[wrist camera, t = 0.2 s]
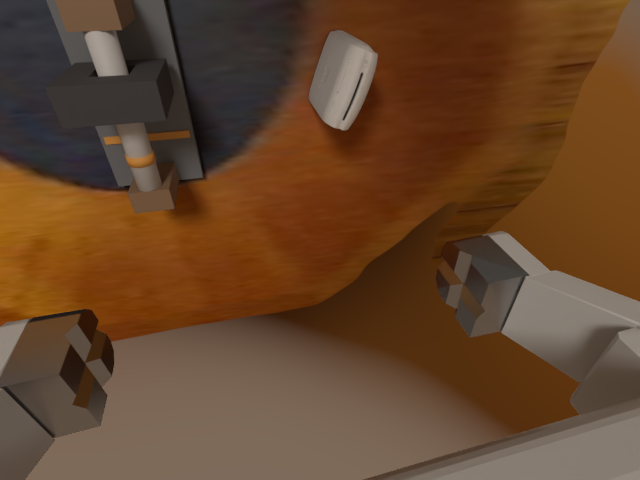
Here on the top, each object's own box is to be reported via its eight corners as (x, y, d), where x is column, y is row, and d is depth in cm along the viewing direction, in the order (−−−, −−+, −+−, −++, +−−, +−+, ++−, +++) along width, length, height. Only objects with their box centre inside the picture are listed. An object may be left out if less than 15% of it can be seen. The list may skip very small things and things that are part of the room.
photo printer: (328, 23, 48) (356, 41, 39) (357, 35, 50) (390, 55, 41) (303, 100, 54) (322, 132, 44) (330, 108, 55) (353, 141, 46)
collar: (75, 62, 42) (44, 87, 35) (166, 58, 44) (155, 80, 36) (88, 98, 45) (62, 128, 37) (174, 92, 46) (166, 120, 39)
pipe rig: (46, -13, 40) (8, -5, 33) (161, -15, 42) (150, -8, 35) (120, 181, 55) (106, 217, 48) (203, 173, 57) (201, 206, 50)
